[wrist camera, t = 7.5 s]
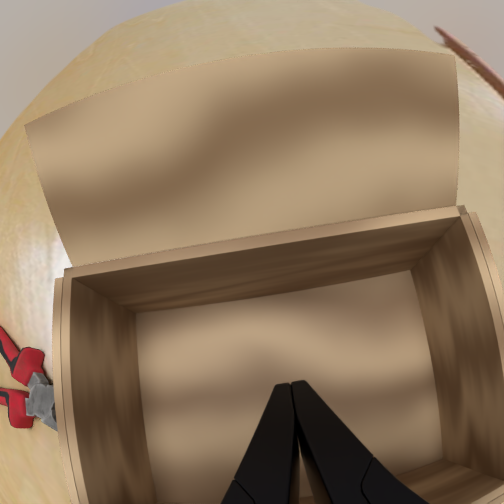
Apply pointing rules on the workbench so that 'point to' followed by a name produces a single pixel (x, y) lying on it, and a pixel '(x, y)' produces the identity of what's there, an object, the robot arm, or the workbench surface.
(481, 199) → the workbench surface
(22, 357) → the pliers
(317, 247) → the carton
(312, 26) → the workbench surface
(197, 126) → the far flap
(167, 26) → the workbench surface
